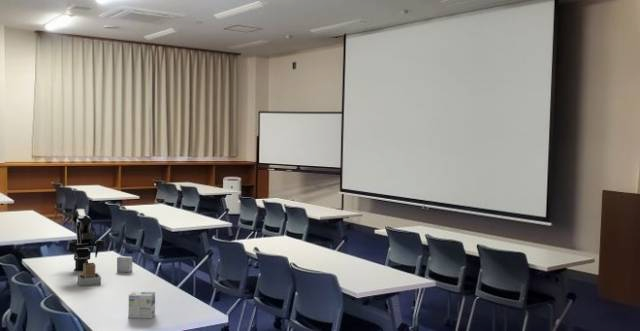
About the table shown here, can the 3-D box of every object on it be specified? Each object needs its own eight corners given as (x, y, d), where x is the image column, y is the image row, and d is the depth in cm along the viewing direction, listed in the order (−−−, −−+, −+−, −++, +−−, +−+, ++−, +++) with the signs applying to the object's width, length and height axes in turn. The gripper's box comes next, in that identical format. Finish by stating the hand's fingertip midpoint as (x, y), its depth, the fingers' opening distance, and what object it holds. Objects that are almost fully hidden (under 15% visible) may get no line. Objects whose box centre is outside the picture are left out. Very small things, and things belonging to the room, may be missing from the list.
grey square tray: (77, 281, 315) (77, 274, 315) (97, 279, 320) (97, 272, 320) (80, 286, 306) (80, 279, 306) (100, 284, 311) (100, 277, 311)
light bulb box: (155, 314, 264) (155, 291, 263) (151, 318, 257) (152, 295, 256) (132, 313, 263) (132, 290, 263) (127, 318, 257) (128, 294, 256)
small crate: (83, 281, 314) (83, 263, 313) (93, 280, 317) (93, 262, 316) (84, 283, 309) (84, 265, 309) (95, 282, 312) (95, 264, 311)
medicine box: (132, 270, 344) (132, 256, 343) (129, 272, 339) (129, 258, 339) (120, 270, 345) (120, 255, 344) (116, 271, 340) (116, 257, 340)
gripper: (68, 227, 318) (70, 251, 309) (103, 226, 328) (106, 248, 319) (66, 239, 325) (68, 262, 317) (101, 237, 335) (104, 259, 326)
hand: (87, 258), depth 319 cm, fingers open, 9 cm apart
